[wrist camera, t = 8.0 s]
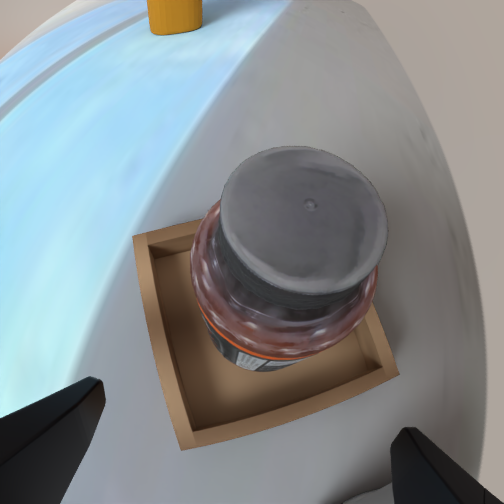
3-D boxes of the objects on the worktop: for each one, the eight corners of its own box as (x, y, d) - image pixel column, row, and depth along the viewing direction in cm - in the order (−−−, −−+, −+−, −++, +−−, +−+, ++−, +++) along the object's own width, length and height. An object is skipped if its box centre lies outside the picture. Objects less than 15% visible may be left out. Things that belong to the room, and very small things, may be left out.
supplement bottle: (202, 275, 18) (175, 120, 8) (302, 266, 19) (376, 119, 8) (212, 380, 15) (179, 356, 5) (321, 364, 16) (454, 309, 6)
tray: (379, 378, 16) (399, 374, 14) (187, 442, 14) (181, 450, 12) (313, 214, 21) (322, 193, 19) (142, 255, 19) (132, 236, 17)
